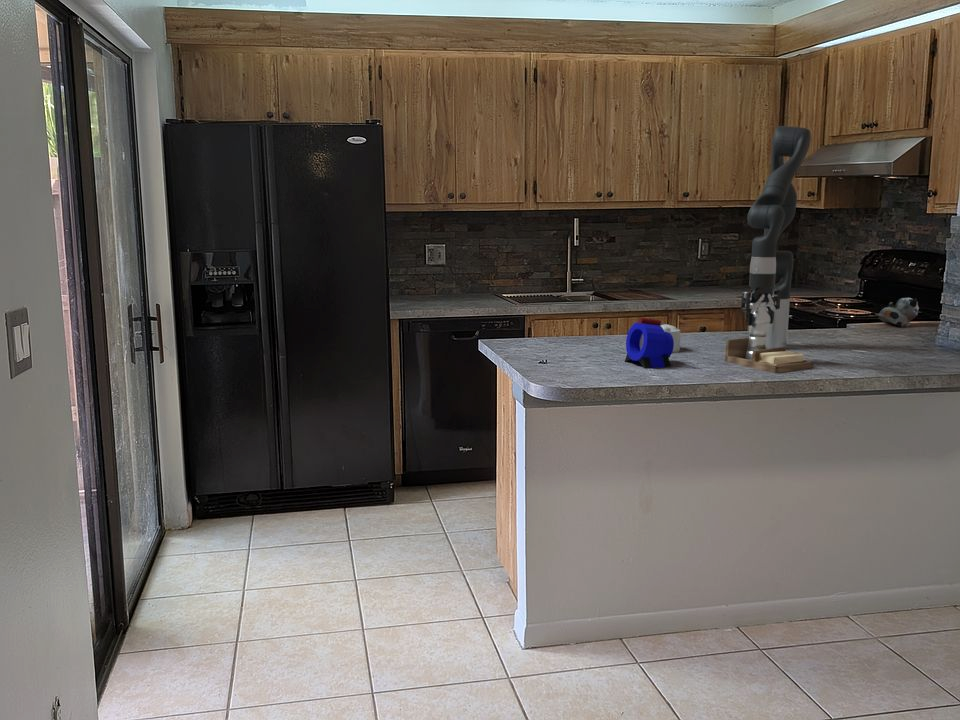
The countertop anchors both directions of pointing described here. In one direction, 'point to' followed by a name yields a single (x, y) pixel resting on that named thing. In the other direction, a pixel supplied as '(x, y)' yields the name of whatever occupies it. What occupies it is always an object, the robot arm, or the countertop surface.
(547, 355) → the countertop surface
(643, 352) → the alarm clock
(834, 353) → the countertop surface
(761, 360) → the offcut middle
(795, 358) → the offcut top
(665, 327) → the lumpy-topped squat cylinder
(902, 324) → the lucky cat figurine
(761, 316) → the silver metal bottle
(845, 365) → the countertop surface
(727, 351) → the walnut rack
